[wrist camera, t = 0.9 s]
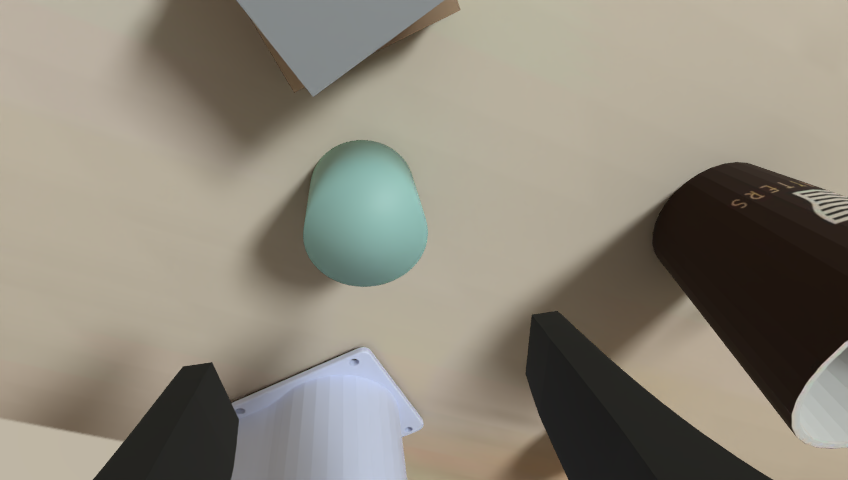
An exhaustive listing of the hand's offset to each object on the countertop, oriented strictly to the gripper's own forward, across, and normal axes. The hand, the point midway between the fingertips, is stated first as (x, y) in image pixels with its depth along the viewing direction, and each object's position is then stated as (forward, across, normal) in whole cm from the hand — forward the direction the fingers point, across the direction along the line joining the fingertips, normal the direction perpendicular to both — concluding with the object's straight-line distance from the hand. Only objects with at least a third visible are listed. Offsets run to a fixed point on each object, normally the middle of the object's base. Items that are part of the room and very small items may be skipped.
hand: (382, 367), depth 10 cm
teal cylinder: (+10, 0, +1) cm, 10 cm away
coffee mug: (+11, -19, +6) cm, 22 cm away
